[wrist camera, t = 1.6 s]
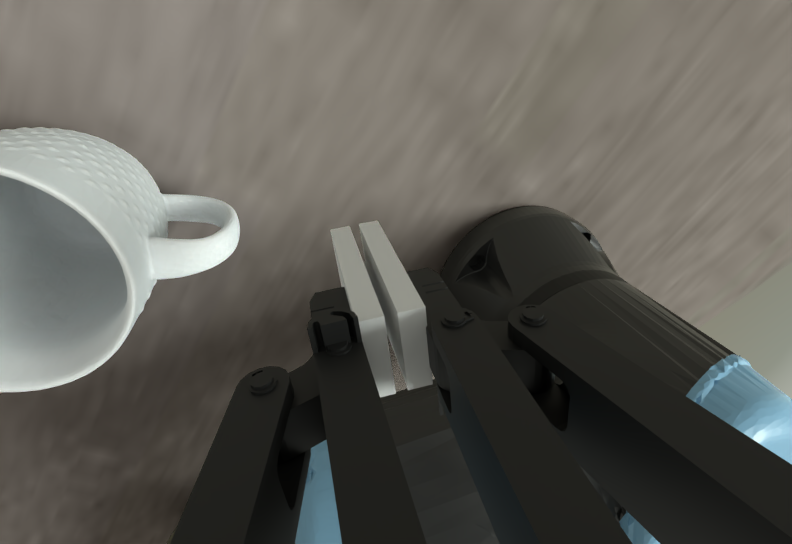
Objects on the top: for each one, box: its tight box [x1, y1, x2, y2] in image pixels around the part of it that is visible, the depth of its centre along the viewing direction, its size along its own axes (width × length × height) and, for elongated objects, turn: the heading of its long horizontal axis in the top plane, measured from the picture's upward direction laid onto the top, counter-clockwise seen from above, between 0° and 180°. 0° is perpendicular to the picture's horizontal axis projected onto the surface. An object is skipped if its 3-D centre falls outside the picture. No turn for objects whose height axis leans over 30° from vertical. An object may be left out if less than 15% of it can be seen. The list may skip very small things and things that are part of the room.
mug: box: [0, 127, 240, 392], centre depth 25 cm, size 15×11×13 cm
